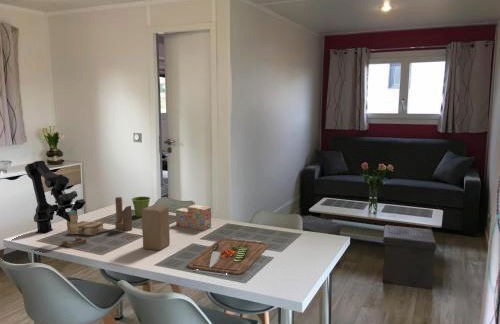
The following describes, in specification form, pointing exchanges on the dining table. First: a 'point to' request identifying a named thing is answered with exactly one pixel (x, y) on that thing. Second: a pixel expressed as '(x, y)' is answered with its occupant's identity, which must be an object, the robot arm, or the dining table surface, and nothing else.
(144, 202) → the plant pot
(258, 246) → the chopping board
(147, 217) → the wooden block
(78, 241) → the frame
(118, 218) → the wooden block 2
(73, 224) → the teal long block
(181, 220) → the stack of blocks
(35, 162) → the robot arm
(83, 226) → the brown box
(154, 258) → the dining table surface
